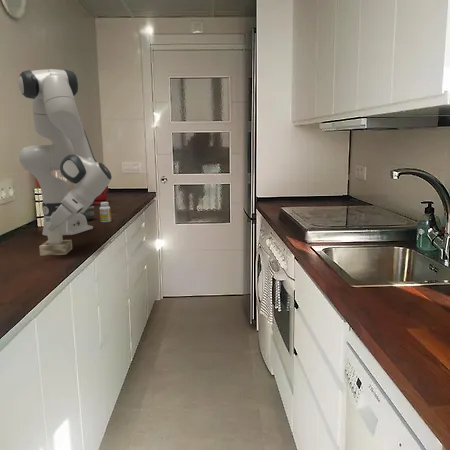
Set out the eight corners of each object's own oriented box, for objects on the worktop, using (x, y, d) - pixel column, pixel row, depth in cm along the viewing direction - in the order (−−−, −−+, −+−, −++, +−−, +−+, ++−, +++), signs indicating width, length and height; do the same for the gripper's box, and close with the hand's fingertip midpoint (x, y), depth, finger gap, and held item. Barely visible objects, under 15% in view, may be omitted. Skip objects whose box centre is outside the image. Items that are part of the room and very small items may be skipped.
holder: (72, 248, 172) (71, 239, 171) (65, 254, 163) (64, 245, 162) (48, 249, 171) (47, 240, 171) (40, 255, 163) (39, 246, 162)
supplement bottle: (107, 220, 232) (105, 201, 230) (113, 221, 228) (112, 202, 227) (98, 221, 228) (96, 202, 226) (104, 222, 224) (103, 203, 222)
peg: (63, 242, 169) (60, 215, 167) (59, 244, 165) (57, 217, 163) (52, 242, 168) (49, 216, 167) (48, 245, 164) (45, 218, 163)
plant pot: (98, 205, 285) (96, 186, 283) (84, 204, 293) (82, 186, 290) (113, 202, 296) (112, 184, 294) (99, 201, 303) (98, 184, 301)
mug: (81, 222, 226) (79, 203, 224) (69, 220, 234) (67, 201, 232) (98, 220, 233) (97, 200, 231) (85, 217, 241) (84, 199, 239)
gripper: (77, 192, 174) (54, 218, 175) (62, 199, 154) (36, 228, 155) (90, 203, 175) (67, 228, 176) (76, 211, 155) (50, 240, 156)
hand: (52, 228), depth 165 cm, fingers closed on peg, 4 cm apart
